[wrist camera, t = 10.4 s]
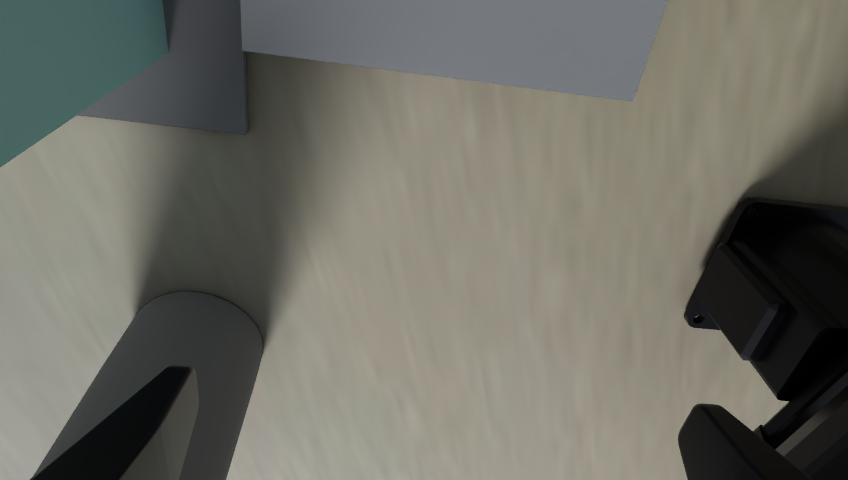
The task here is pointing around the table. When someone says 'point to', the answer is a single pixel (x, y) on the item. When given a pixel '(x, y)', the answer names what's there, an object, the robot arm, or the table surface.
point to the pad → (189, 73)
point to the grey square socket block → (469, 39)
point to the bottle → (186, 346)
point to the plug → (68, 60)
